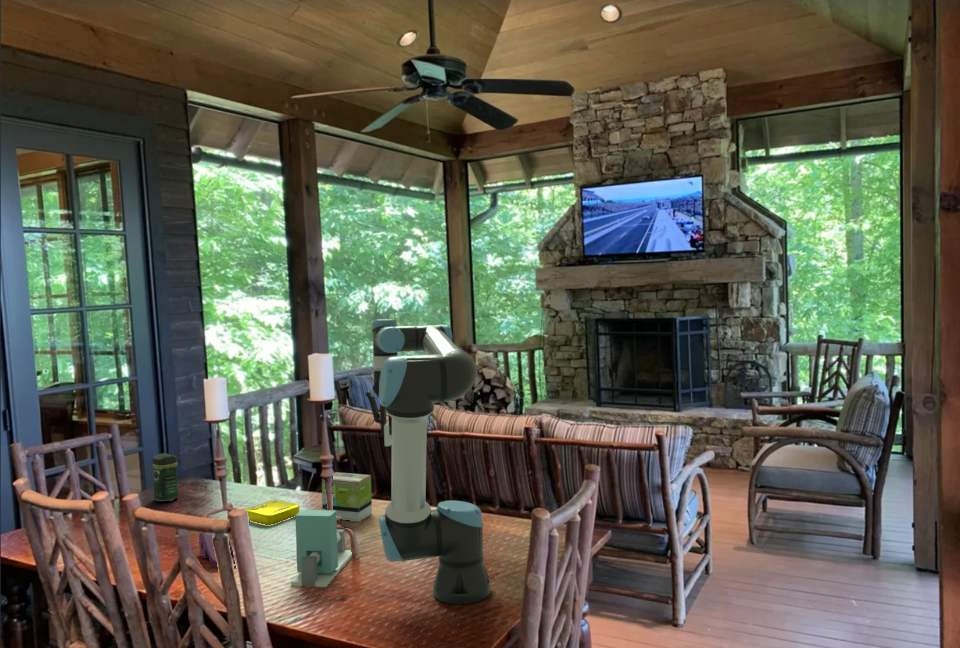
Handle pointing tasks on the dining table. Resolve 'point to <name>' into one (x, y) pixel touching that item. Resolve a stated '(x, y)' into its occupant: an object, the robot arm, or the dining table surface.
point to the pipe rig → (309, 566)
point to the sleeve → (317, 538)
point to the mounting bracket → (209, 548)
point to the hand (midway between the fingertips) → (388, 445)
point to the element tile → (272, 512)
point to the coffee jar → (165, 476)
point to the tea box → (350, 496)
